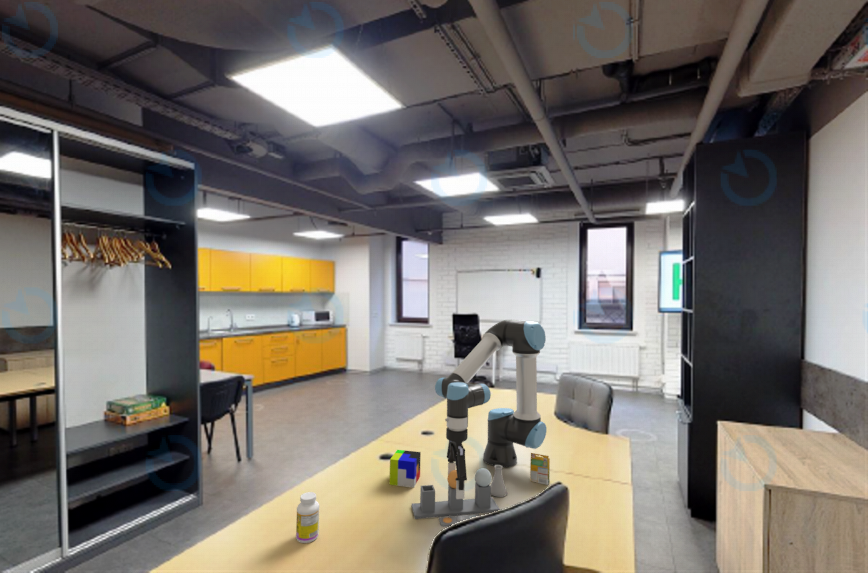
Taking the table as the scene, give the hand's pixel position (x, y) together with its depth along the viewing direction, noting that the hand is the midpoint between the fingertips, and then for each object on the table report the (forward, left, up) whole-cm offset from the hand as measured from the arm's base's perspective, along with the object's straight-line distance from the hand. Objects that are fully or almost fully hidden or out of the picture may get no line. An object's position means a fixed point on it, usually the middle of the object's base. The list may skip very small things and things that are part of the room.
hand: (455, 489), depth 142 cm
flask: (-19, -9, -7) cm, 22 cm away
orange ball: (0, 0, +4) cm, 4 cm away
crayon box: (-39, -15, -7) cm, 42 cm away
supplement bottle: (+49, +9, -7) cm, 50 cm away
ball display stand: (0, 0, -7) cm, 7 cm away
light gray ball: (-10, 0, +4) cm, 11 cm away
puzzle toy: (+15, -24, -7) cm, 29 cm away
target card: (0, +7, -7) cm, 10 cm away
